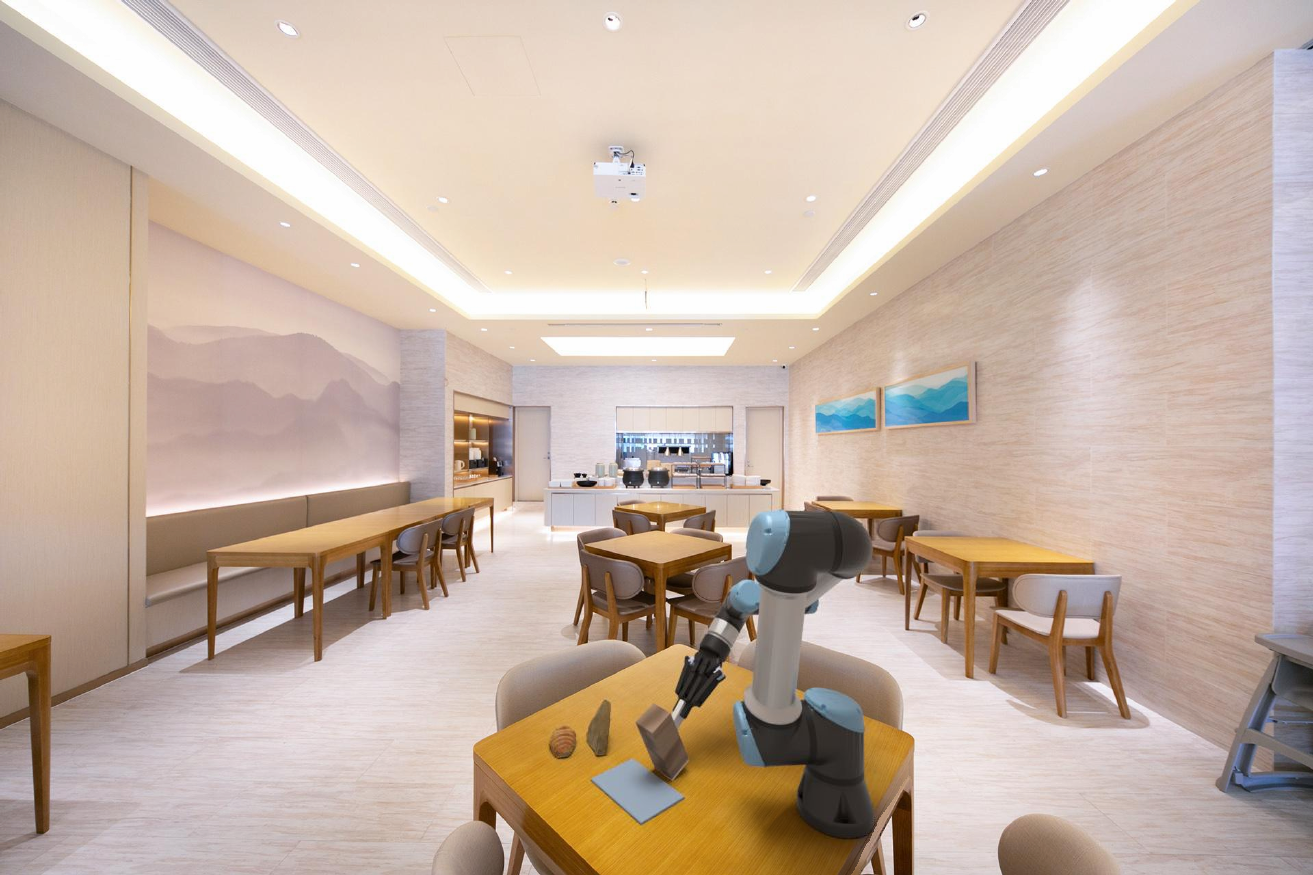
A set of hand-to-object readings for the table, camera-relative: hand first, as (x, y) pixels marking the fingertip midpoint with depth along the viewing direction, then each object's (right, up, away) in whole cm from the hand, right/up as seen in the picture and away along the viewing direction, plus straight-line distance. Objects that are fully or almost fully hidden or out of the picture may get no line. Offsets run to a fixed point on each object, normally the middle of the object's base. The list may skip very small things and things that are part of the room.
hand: (671, 728), depth 117 cm
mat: (-8, -8, -9) cm, 14 cm away
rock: (-19, -9, +8) cm, 23 cm away
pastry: (-27, -9, +7) cm, 30 cm away
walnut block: (0, -7, -2) cm, 8 cm away
